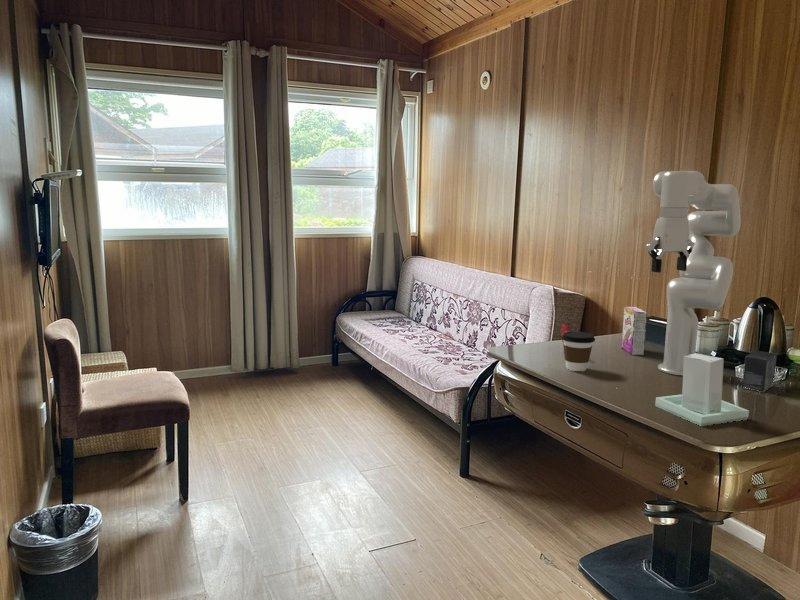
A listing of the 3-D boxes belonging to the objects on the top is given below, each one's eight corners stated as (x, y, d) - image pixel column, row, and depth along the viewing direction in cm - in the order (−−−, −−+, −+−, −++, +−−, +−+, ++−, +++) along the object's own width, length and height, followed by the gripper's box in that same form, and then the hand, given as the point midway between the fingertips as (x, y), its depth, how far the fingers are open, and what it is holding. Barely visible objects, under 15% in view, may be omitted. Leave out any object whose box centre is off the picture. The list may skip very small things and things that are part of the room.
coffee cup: (552, 367, 205) (554, 333, 203) (573, 363, 211) (575, 329, 209) (578, 375, 196) (581, 339, 194) (599, 370, 202) (602, 335, 200)
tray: (699, 400, 173) (700, 392, 172) (748, 419, 158) (749, 410, 158) (655, 406, 168) (655, 397, 167) (700, 426, 153) (701, 417, 152)
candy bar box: (620, 347, 233) (623, 306, 231) (633, 348, 233) (636, 306, 231) (630, 355, 222) (634, 311, 220) (644, 355, 222) (648, 312, 220)
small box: (751, 381, 192) (754, 349, 190) (774, 385, 188) (778, 353, 186) (740, 388, 185) (744, 355, 183) (764, 393, 180) (768, 359, 178)
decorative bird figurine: (564, 348, 232) (565, 322, 231) (583, 360, 215) (585, 332, 213) (556, 348, 232) (558, 322, 230) (576, 360, 215) (577, 333, 213)
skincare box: (721, 412, 161) (726, 358, 158) (707, 416, 158) (712, 361, 155) (692, 403, 168) (697, 351, 165) (678, 406, 165) (683, 354, 162)
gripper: (685, 212, 184) (681, 268, 187) (640, 213, 178) (636, 271, 181) (706, 213, 177) (700, 271, 180) (659, 214, 171) (655, 274, 174)
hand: (668, 271), depth 180 cm, fingers open, 9 cm apart
